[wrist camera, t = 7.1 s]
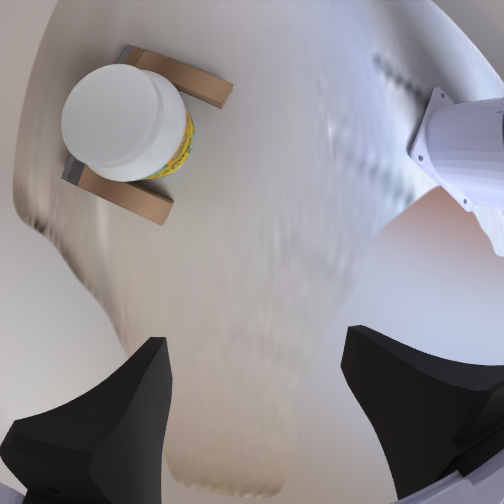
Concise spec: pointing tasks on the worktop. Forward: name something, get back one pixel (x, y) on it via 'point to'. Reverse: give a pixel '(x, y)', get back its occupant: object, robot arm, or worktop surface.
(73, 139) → the supplement bottle
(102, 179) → the walnut dock
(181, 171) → the worktop surface
